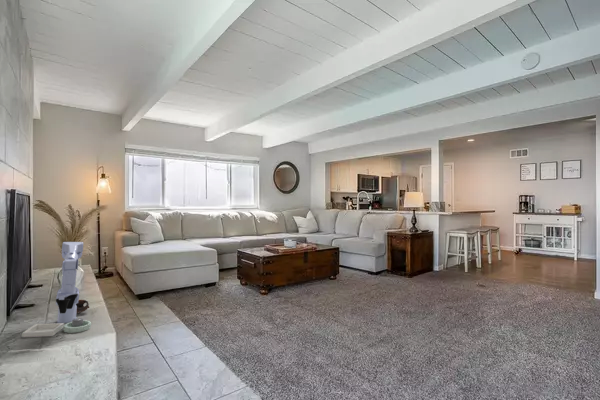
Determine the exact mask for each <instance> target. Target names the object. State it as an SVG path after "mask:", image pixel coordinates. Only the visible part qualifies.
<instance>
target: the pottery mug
mask: <svg viewBox="0 0 600 400" xmlns="http://www.w3.org/2000/svg"><path fill="white" fill-rule="evenodd" d="M84 305H85V306H84ZM76 306H77V313H76V315H77V314H79V313H83V312H86V310H88V309H90V306H89V302H88V301H87V299H86V300H85V299H79V301H78V303H77V304H76Z"/></svg>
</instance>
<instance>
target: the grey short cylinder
mask: <svg viewBox="0 0 600 400" xmlns="http://www.w3.org/2000/svg"><path fill="white" fill-rule="evenodd" d="M83 320H84V318H83V317H76V318H75V319H73V320H72V327H80V326H83Z"/></svg>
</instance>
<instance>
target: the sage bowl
mask: <svg viewBox="0 0 600 400" xmlns="http://www.w3.org/2000/svg"><path fill="white" fill-rule="evenodd" d="M91 328H92V322H91V321H90V320H86V319H85V320H84V319H83V326H80V327H72V322H68V323H64V327H63V332H64V333H69V334H71V333H72V334H73V333H81V332H85V331H88V330H90V329H91Z"/></svg>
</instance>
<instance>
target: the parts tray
mask: <svg viewBox="0 0 600 400" xmlns="http://www.w3.org/2000/svg"><path fill="white" fill-rule="evenodd" d="M64 325H65V323H58V322H56V323H55V322H53V323H52V322H51V323H35V324H34V325H32V326H30V327H29V328H27V329H26V330H24V331H23V332H21V333H22V334H21V338H34V337H35V338H36V337H37V338H38V337H53V336H55V335H56V334H57V333H58V332H60V331H61V330H63V329H64Z"/></svg>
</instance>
